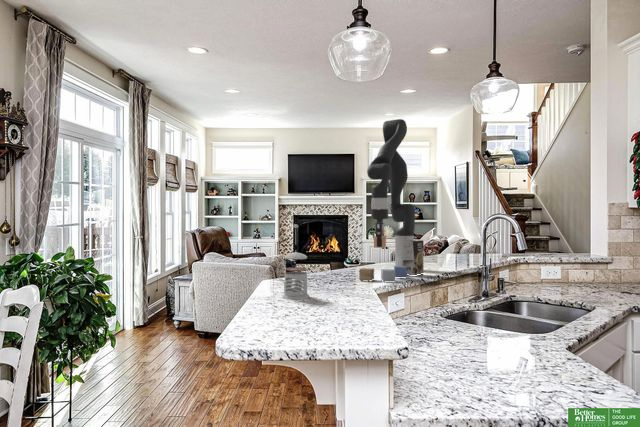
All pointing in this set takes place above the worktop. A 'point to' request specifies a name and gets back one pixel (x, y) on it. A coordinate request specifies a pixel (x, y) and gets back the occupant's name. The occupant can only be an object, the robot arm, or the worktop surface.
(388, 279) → the slate block
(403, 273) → the navy block
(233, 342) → the worktop surface
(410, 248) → the coffee box
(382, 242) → the terracotta block
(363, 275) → the walnut block
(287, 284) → the french press
